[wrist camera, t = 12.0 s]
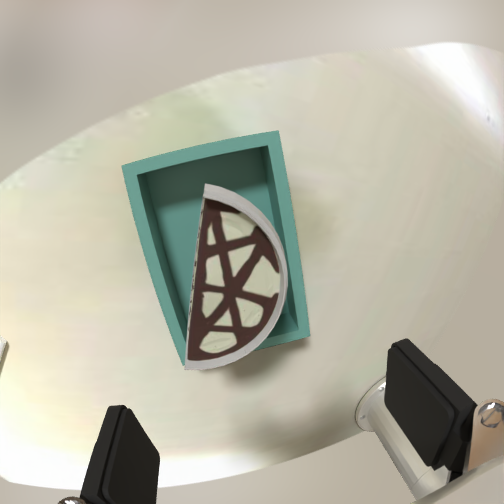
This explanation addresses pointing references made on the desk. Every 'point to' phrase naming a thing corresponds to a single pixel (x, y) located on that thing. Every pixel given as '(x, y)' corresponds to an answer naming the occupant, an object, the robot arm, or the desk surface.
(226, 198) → the food container
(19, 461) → the desk surface
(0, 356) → the external hard drive
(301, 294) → the bin
